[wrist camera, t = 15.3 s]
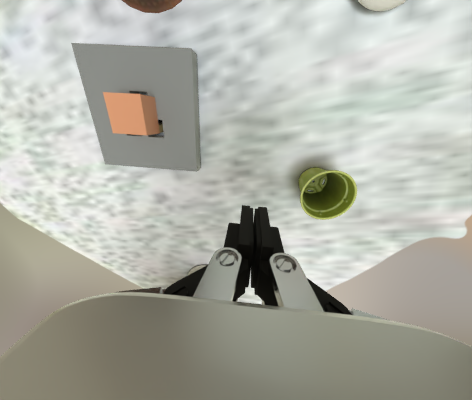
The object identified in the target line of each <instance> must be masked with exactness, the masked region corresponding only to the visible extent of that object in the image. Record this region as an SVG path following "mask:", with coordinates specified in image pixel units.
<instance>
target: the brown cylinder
mask: <svg viewBox="0 0 472 400" xmlns="http://www.w3.org/2000/svg"><path fill="white" fill-rule="evenodd" d="M122 1H123V2H125V3H126V4H127V5H129V6H130V7H132V8H135V9H137V10H140V11H142V12H147V13H160V12H163V11H166V10H169V9H172V8H173V7H175V6H176V5H177V4H178V3H180V2H181V1H182V0H122Z"/></svg>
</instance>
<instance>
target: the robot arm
mask: <svg viewBox="0 0 472 400" xmlns="http://www.w3.org/2000/svg"><path fill="white" fill-rule="evenodd" d="M250 271H251V288H255V295H258V296H259V297H260V298H261V299H262V305H261V304H252V303H243V302H237V301H238V298H239V297H240V296H241V295H243V294H244V293H245V287H248V286H249V278H250ZM0 400H472V346H470V345H468V344H466V343H464V342H461V341H459V340H457V339H454V338H452V337H449V336H447V335H445V334H442V333H439V332H435V331H432V330H429V329H426V328H423V327H418V326H414V325H411V324H406V323H400V322H395V321H390V320H387V319H384V318H381V317H378V316H374V315H371V314H368V313H365V312H362V311H359V310H355V309H351V311H350V310H348V309H347V308H346V307H345V306H344V305H343V304H342V303H341V302H339V301H338V300H336V299H335V298H334V297H332V296H331V295H330V294H328V293H327V292H325V291H324V290H323V289H321V288H320V287H319V286H317V285H316V284H314V283H313V282H312V281H310V280H309V279H308V278H306V276H305V274H304V272H303V270H302V268H301V266H300V264H299V263H298V261H297V260H296V259H295V258H294V257H292V256H291V255H289V254H286V253H284V250H283V246H282V242H281V238H280V234H279V230H278V228H277V227H270V223H269V217H268V212H267V208H266V207H258V209H255V214H254V222H253V208H250V206H243V205H242V211H241V221H240V224H236V223H229V225H228V230H227V234H226V239H225V244H224V248H221V249H219V250H217V251H216V252H215V253H214V254H213V256H212V258H211V260H210V263H209V264H208V265H200V266H196V267H194V268H192V269H191V270H190V271H189V273H188V276H186V277H185V278H183V279H181V280H179V281H177V282H176V283H174V284H172V285H171V286H169V287H168V288H167V289H163V290H162V288H161V287H158V288H149V289H139V290H129V291H121V292H116V293H109V294H102V295H97V296H93V297H89V298H85V299H82V300H78V301H75V302H73V303H70V304H68V305H66V306H64V307H62V308H60V309H58V310H57V311H55V312H53V313H52V314H51V315H49V316H48V317H46V318H45V319H44V320H43V321H41V322H40V323H39V324H37V325H36V326H35V327H34V328H33V329H31V330H30V331H29V332H28V333H27V334H26V335H24V336H23V337H22V338H21V339H20V340H18V341H17V342H16V343H15V344H14V345H13V346H12V347H11V348H9V349H8V350H7V351H6V352H5V353H4V354H3V355H2V356H1V357H0Z"/></svg>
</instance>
